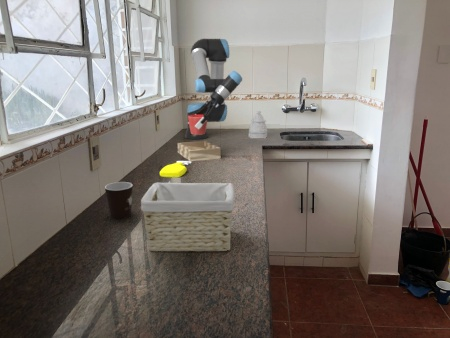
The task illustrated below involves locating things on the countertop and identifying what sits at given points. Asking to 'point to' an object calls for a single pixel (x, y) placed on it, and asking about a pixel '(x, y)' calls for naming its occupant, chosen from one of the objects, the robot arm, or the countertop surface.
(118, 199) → the coffee mug
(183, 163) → the spray bottle
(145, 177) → the countertop surface
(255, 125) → the honey pot
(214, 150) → the pine crate
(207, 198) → the storage basket
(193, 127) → the flower pot
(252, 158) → the countertop surface
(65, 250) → the countertop surface
